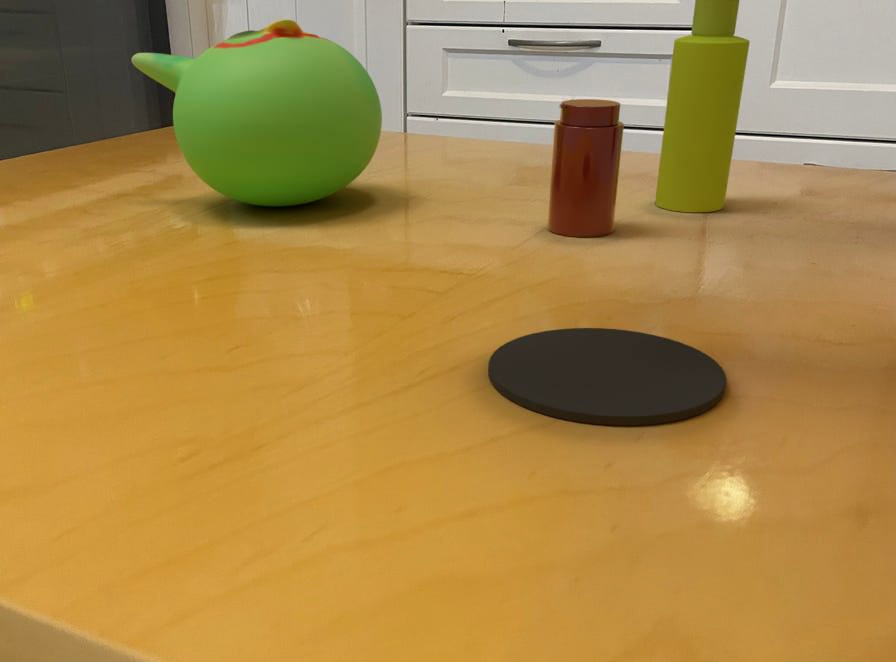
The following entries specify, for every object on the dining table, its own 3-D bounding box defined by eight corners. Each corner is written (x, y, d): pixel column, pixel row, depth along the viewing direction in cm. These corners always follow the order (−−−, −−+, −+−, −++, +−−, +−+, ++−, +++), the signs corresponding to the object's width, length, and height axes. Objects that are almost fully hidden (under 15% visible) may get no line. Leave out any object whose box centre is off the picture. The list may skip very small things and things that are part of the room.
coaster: (672, 331, 54) (673, 322, 54) (767, 417, 44) (769, 408, 44) (468, 341, 53) (468, 332, 53) (517, 433, 43) (518, 423, 42)
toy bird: (259, 237, 73) (242, 26, 66) (141, 203, 83) (114, 17, 76) (419, 200, 84) (419, 16, 77) (298, 174, 94) (288, 10, 87)
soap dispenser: (747, 207, 82) (792, -60, 72) (684, 215, 79) (721, -61, 69) (702, 194, 86) (738, -59, 76) (641, 201, 84) (670, -59, 74)
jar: (593, 219, 78) (604, 97, 73) (625, 234, 74) (639, 105, 69) (536, 224, 77) (544, 100, 72) (565, 239, 72) (575, 108, 68)
